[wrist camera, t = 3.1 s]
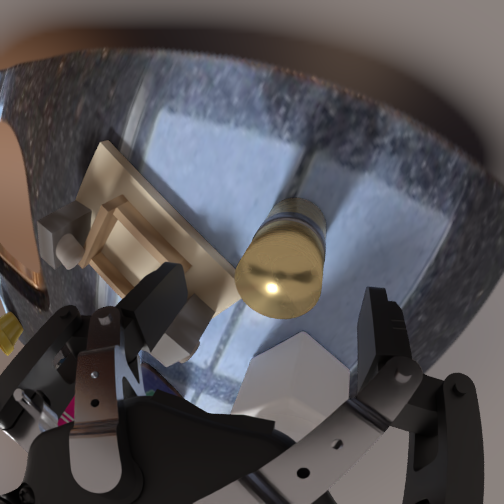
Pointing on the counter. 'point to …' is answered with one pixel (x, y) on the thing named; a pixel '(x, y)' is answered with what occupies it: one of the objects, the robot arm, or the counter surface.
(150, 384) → the flask
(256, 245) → the cylinder
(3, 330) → the plant pot
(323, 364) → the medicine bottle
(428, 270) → the counter surface
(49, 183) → the counter surface
